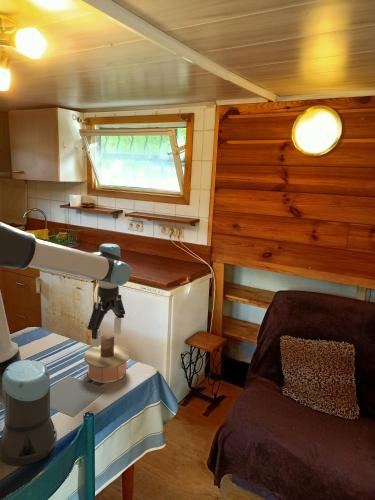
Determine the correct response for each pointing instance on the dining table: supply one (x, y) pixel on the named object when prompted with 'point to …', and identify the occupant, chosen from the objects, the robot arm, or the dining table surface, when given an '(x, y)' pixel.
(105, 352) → the lid
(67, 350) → the dining table surface
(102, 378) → the bowl
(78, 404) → the mat
